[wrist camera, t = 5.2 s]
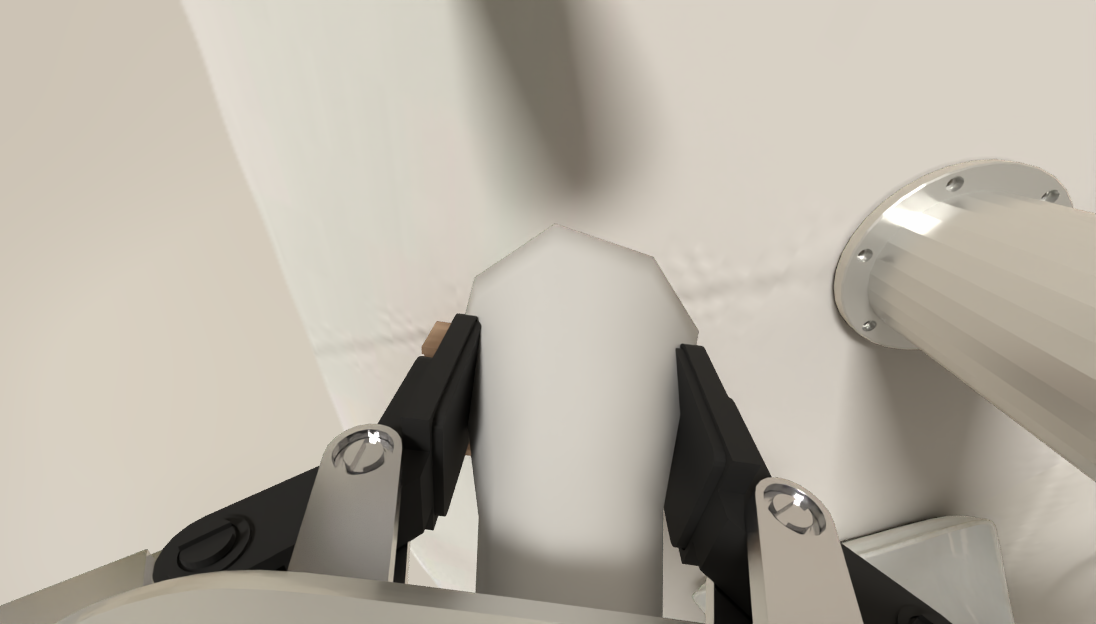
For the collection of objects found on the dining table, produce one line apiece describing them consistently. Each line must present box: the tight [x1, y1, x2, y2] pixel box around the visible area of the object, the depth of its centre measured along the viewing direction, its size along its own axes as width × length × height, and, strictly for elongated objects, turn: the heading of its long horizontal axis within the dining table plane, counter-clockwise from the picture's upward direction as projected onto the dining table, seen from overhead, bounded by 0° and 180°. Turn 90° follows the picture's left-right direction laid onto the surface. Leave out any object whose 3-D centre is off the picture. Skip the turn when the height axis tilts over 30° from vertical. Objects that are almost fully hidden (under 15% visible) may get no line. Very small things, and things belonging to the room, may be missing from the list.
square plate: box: [692, 515, 1015, 624], centre depth 44 cm, size 27×27×4 cm
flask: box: [465, 224, 699, 618], centre depth 9 cm, size 7×7×10 cm
